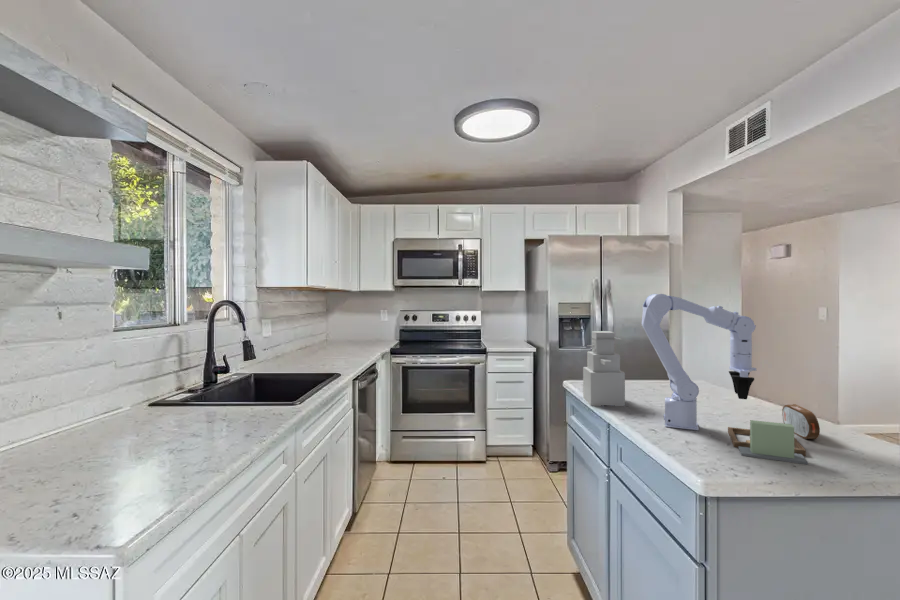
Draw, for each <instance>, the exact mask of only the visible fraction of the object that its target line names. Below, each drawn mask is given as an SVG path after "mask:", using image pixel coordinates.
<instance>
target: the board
mask: <svg viewBox="0 0 900 600" xmlns="http://www.w3.org/2000/svg"><path fill="white" fill-rule="evenodd" d="M749 429H750V435H749V440H750V450H751V452H752V453H757V454H764V455H772V456H780V457H788V458H794V448H795V447H794V437H795V433H794V427H793V425H792V424H784V422H773V421H763V420H749Z"/></svg>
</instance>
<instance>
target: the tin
mask: <svg viewBox="0 0 900 600" xmlns="http://www.w3.org/2000/svg"><path fill="white" fill-rule="evenodd" d="M781 409H782V410H781V411H782V412H781V413H782V414H781V415H782V423H784V424H792V425H793V427H794V435H796V434H797V435H796V436H798V437H800V438H801V439H804V440H817V439H818V438H819V436H820V432H821V429H820V423H819V420H818V418H817V416H816V414H815V413H813V411H811V410H810V409H808V408H805V407H802V406H801V405H798V404H796V403H793V404H785V405H784V406H783V407H782V408H781Z"/></svg>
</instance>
